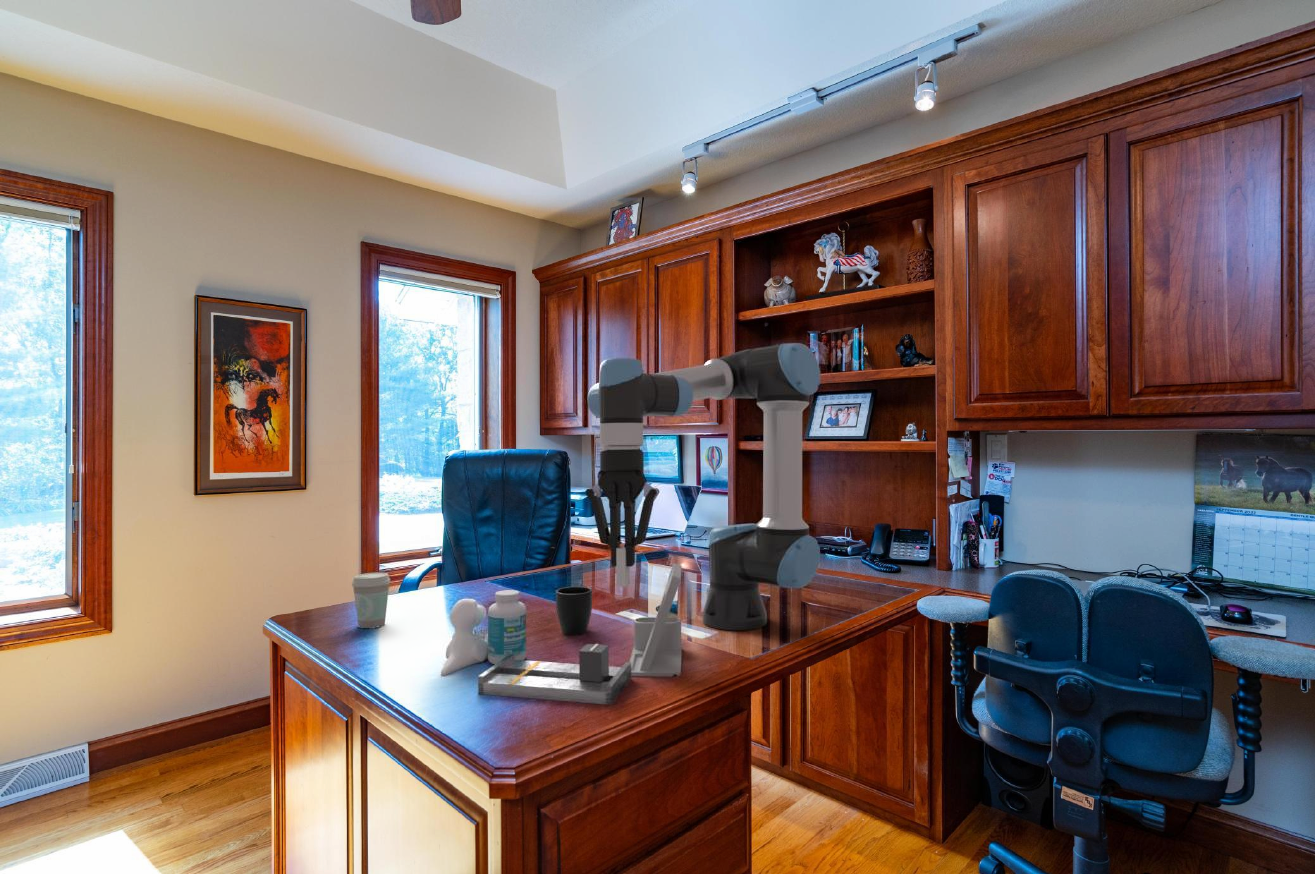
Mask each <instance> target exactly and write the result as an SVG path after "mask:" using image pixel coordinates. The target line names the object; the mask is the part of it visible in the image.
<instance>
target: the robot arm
mask: <svg viewBox="0 0 1315 874" xmlns="http://www.w3.org/2000/svg"><path fill="white" fill-rule="evenodd" d="M598 376H599V377H598V382H597V383H595V384H594V385H593V386H591V387H590V389H589V392H588V394H587V405H588V406H587V407H588V408H589V411H590V413H591V414H592V415H593V416H594V417H596V418H598V419H599V446H600V447H603V450H602V449H601V451H600V452H599V468H600V470H599V471H600V474H599V478H598V480H597V483H596V484H595V485H594V486H591V488H587V489H586V490H585V491H584V492H585V495H586V496H587V498H588V499H589V501H590V504H591V508H592V512H593V516H594V521H595V525H596V529H597V533H598V537H599V541H600V543H601V544H605V545H607V546H609V548H610V555H611V556H610V563H611V567H616V588H617V587H618V588H619V587H621V588H626V587H628V585H630V584H631V583H630V582H631V581H630V579H631V575H630V572H631V571H630V568H631V567H633V566H634V565H635V563H636V551H635V549H636V546H638V545H639V546H640V545H641V544H643V543H645V542H646V538H647V535H648V529H649V524H650V521H651V516H652V512H653V506H654V504H655V503H654V502H655V500H656V499H657V497H658V495H659V494H660V489H659V488H658V487H653V486H652V485H650V484H649V483H647V482H648V481H647V478H646V476H645V472H644V471H645V470H644V469H645V467H644V466H645V465H644V464H645V463H644V462H645V460H644V453H645V452H644V451H643V449H641V447H643V446H644V417H645V418H647V417H660V416H661V417H663V416H665V417H669V418H670V417H677V416H678V417H680V416H683V415H685V414H686V413H687V412H689V410H690V409H691V407H692V405H693V402H696V401H700V400H706V399H713V400H717V401H720V400H726V399H756V405H757V406H758V407H759V408H760V409H761V410H762V412H763V445H762V446H763V448H762V450H763V451H762V453H763V460H762V461H763V464H762V465H763V467H762V468H763V472H762V473H763V475H762V479H763V483H762V485H763V486H762V487H763V488H762V491H763V493H762V496H763V497H762V500H763V501H762V502H763V503H762V518H761V520H759V521H758V522H757V523H741V524H740V523H739V524H730V525H724V526H723V525H721V526H717V527H713V528H712V529H711V530H710V532H709V536H708V537H709V539H708V541H709V542H708V544H707V545H708V562H709V563H708V566H709V571H708V572H709V591H708V594H707V597H706V601H705V604H704V607H703V611H702V623H703V624H704V625H706V626H708V627H710V628H714V629H719V630H724V631H725V630H727V631H748V630H749V631H750V630H756V629H759V628H762V627H764V626H766V625H767V623H768V616H767V610H766V607H765V604H764V602H763V598H762V595H761V592H760V585H759V584H767V585H772V586H777V587H780V588H782V589H787V588H790V589H801V588H804V587H805V586H807V585H808V584H810V583H811V581H812V580H813V578H814V577H815V575H816V573H817V571H818V569H819V565H820V560H821V550H820V549H821V548H820V545H819V544H818V543H819V542H818V540H817V539H816V538H815V537H813V536H811V535H810V526H809V525H808V524H807V523H806V522H805V520H804V519H803V412H804V410H805V409H806V408H808V406H809V405H810V396H811V395H813V394H814V393H817V390H819V386H820V385H821V384H820V383H821V370H820V365H819V361H818V359H817V358H816V356H815V354H814V352H813V351H812V350H811V349H810V347H808V346H807V345H805V344H803V343H799V342H794V343H792V342H791V343H790V342H789V343H784V342H783V343H781V344H776V345H775V344H774V345H769V346H768V345H767V346H764V347H763V346H762V347H757V348H749V349H745V350H744V349H743V350H740V351H737V352H734V353H730V354H728V355H725V356H722V357H718V358H712V359H710V360H707V361H706V362H705V363H704V364H702V365H695V366H689V367H685V368H678V369H674V370H668V371H661V372H656V373H646V372H645V371H644V368H643V362H642V361H641V360H640V359H636V358H632V357H616V358H615V357H614V358H608V359H605V360H603V361H602V362H601V363H600V366H599V374H598ZM602 492H603V493H602ZM642 492H643V494H642V495H643V497H644V499H643V503H642V508H641V511H640V517H639V521H638V524H637V525H638V526H637V530H636V500H637V499H638V497H639V496H640V494H641V493H642ZM602 494H604V495H605V497H606V498H607V500H608V507H609V508H608V509H609V524H608V519H607V516H606V512H605V507H604V503H603V500H602ZM622 503H623V506H622ZM622 507H623V511H624V517H623V519H624V545H622V543H623V541H622V529H621V528H622V527H621V525H622V522H621V519H622V518H621V516H622V514H621V511H622V510H621V508H622Z"/></svg>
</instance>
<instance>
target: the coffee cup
mask: <svg viewBox="0 0 1315 874" xmlns="http://www.w3.org/2000/svg"><path fill="white" fill-rule="evenodd" d="M390 583H391V578H390V576H389V573H387V572H380V571H379V572H367V573H361V574H357V575H355V576H354V577H353V580H352V582H351V586H352V587H353V594H354V595H353V596H354V602H355V603H354V604H355V610H356V617H357V626H360V627H363V628H370V629H374V628H373V627H377V626H381V627H383V626H384V625H386V617H387V607H388V600H389V599H388V598H389V589H390ZM383 624H384V625H383ZM382 625H383V626H382ZM377 628H378V627H377Z"/></svg>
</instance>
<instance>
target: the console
mask: <svg viewBox="0 0 1315 874" xmlns="http://www.w3.org/2000/svg"><path fill="white" fill-rule="evenodd" d="M631 680H632V676H631V662H630V661H625V663H624V664H623V665H621V666H612V665H611V666H610V665H609V674H608V675H607V676H606V678H605V680H604V682H595V681H582V680H580V677H579V663H568V662H567V663H566V662H554V661H541V660H525V659H524V660H515V654H509V655H508V656H506V657H505V658H504V659H502V660H501V661H499V662H498V663H496V664H493V665H492V666H491V667H488V669H486V670H485V671H483V672H482V673H481V674H479V675H478V676H477V686H478V687H477V688H478V689H477V693H478V695H488V696H499V697H500V696H502V697H511V698H513V697H514V698H524V699H535V700H545V701H546V700H547V701H548V700H549V701H558V702H559V701H560V702H573V703H583V704H585V703H586V704H593V705H594V704H597V705H607V706H612V705H613V703H614V702H615V701H616V700H617V699H618V698H619V696H620V695H621V694H622V692H623V691H624V690H625V688H626V687H627V686H628V684H629V683H630V681H631Z"/></svg>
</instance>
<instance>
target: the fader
mask: <svg viewBox="0 0 1315 874" xmlns="http://www.w3.org/2000/svg"><path fill="white" fill-rule="evenodd" d="M609 648H610V647H609V645H608V644H606V645H605V644H599V643H595V644H594V643H593V644H590V643H589V644H588V643H587V644H585V645H584V646H583V647H582V648H581V649H580V650H579V651H578V653H579V655H578V662H579V663H578V664H579V677H580V680H582V681H595V682H604V680H605V678H606V676H607V675H608V674H609V666H610V665H609V664H610V660H609V659H610V658H609V657H610V656H609V655H610V652H609Z"/></svg>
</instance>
